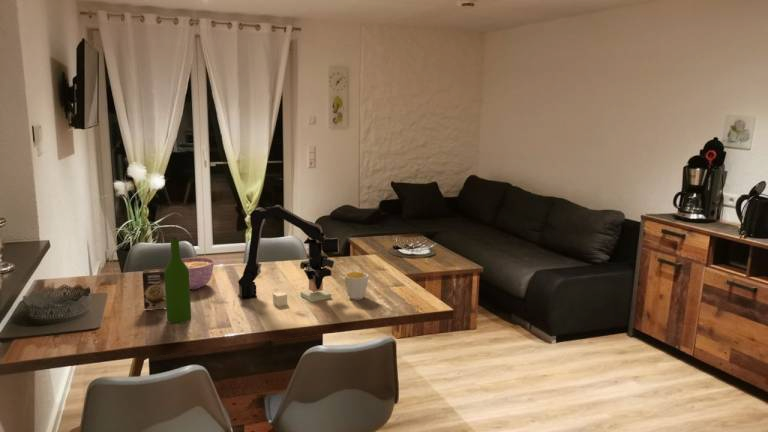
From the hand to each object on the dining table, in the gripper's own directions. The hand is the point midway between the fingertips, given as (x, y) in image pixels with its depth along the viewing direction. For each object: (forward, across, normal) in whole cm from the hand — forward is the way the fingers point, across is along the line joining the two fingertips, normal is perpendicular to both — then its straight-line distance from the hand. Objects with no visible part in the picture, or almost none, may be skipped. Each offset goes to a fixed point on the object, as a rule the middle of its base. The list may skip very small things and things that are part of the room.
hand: (315, 287), depth 258 cm
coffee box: (+5, +23, +62) cm, 66 cm away
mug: (+4, -9, -15) cm, 18 cm away
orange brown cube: (+1, 0, 0) cm, 1 cm away
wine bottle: (+5, +4, +58) cm, 58 cm away
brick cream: (+4, 0, +17) cm, 17 cm away
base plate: (+4, 0, 0) cm, 4 cm away
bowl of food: (+5, +44, +41) cm, 60 cm away
